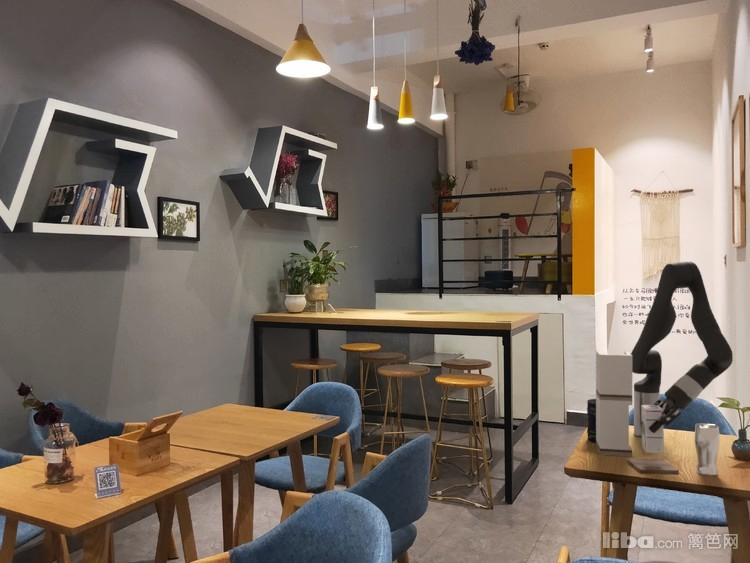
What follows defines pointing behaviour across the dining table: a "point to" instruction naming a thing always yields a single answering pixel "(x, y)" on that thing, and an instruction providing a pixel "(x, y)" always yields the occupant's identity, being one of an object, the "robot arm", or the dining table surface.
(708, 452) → the beer glass
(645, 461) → the walnut board
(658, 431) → the syrup box
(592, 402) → the storage jar
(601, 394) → the white stacked pillar
